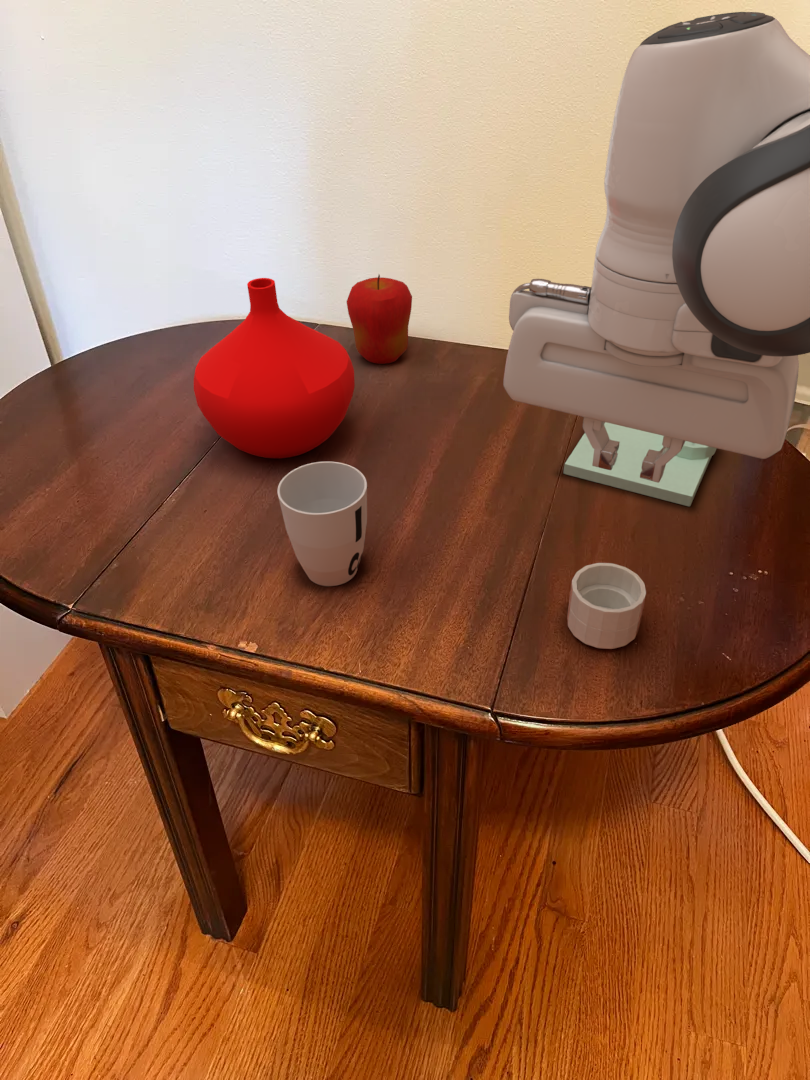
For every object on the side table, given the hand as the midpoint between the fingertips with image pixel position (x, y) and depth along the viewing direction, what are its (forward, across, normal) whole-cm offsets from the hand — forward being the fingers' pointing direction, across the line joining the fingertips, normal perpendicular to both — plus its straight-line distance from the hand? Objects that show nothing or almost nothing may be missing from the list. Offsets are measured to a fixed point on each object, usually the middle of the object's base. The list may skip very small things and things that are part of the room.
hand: (627, 470), depth 64 cm
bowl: (+17, 0, 0) cm, 17 cm away
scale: (+17, -4, +27) cm, 32 cm away
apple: (+17, -43, +37) cm, 59 cm away
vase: (+17, -44, +14) cm, 49 cm away
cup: (+17, -26, -4) cm, 31 cm away
